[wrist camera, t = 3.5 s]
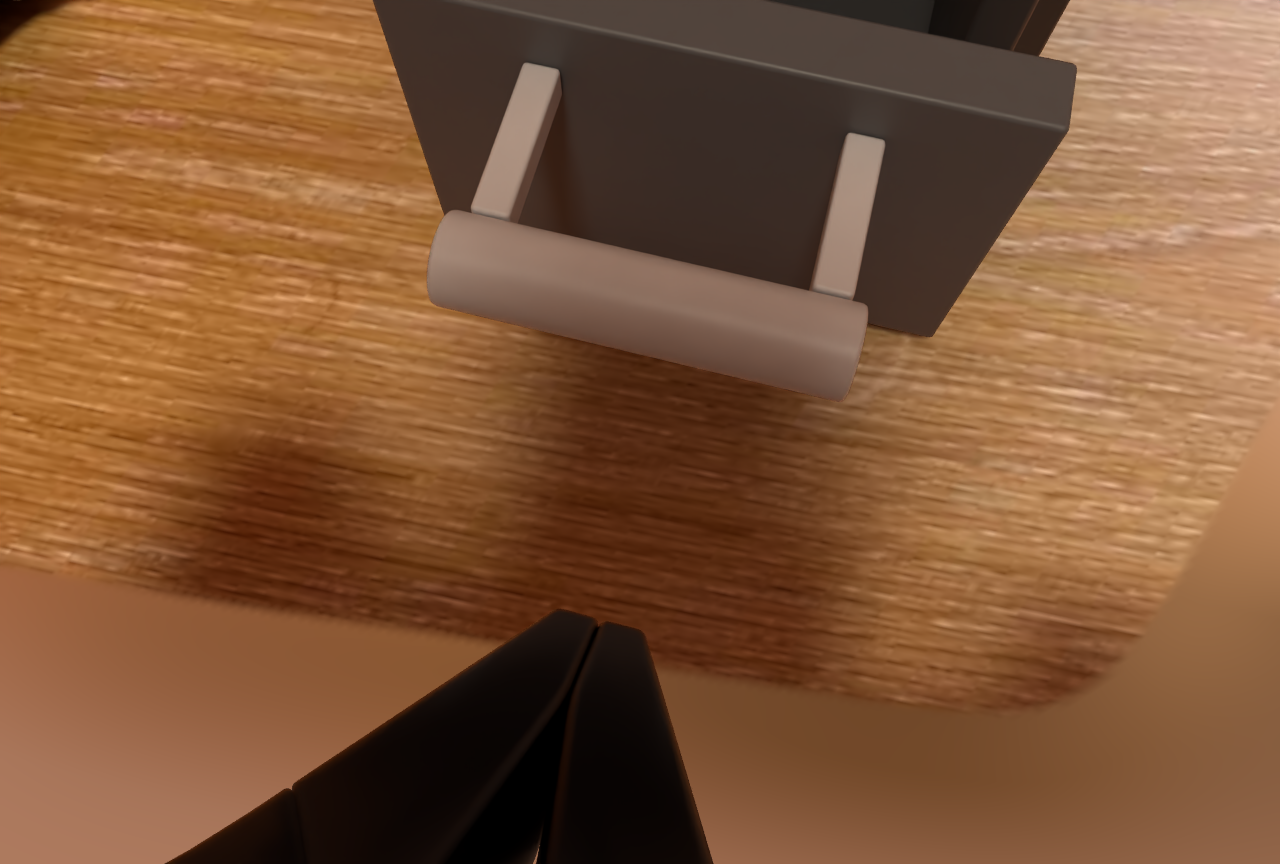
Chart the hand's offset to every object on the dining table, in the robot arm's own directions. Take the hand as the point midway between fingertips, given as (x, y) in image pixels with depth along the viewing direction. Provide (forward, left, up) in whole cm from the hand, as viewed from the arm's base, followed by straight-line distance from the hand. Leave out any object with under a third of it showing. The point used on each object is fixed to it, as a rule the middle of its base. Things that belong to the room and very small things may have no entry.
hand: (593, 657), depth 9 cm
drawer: (+9, -8, -9) cm, 15 cm away
